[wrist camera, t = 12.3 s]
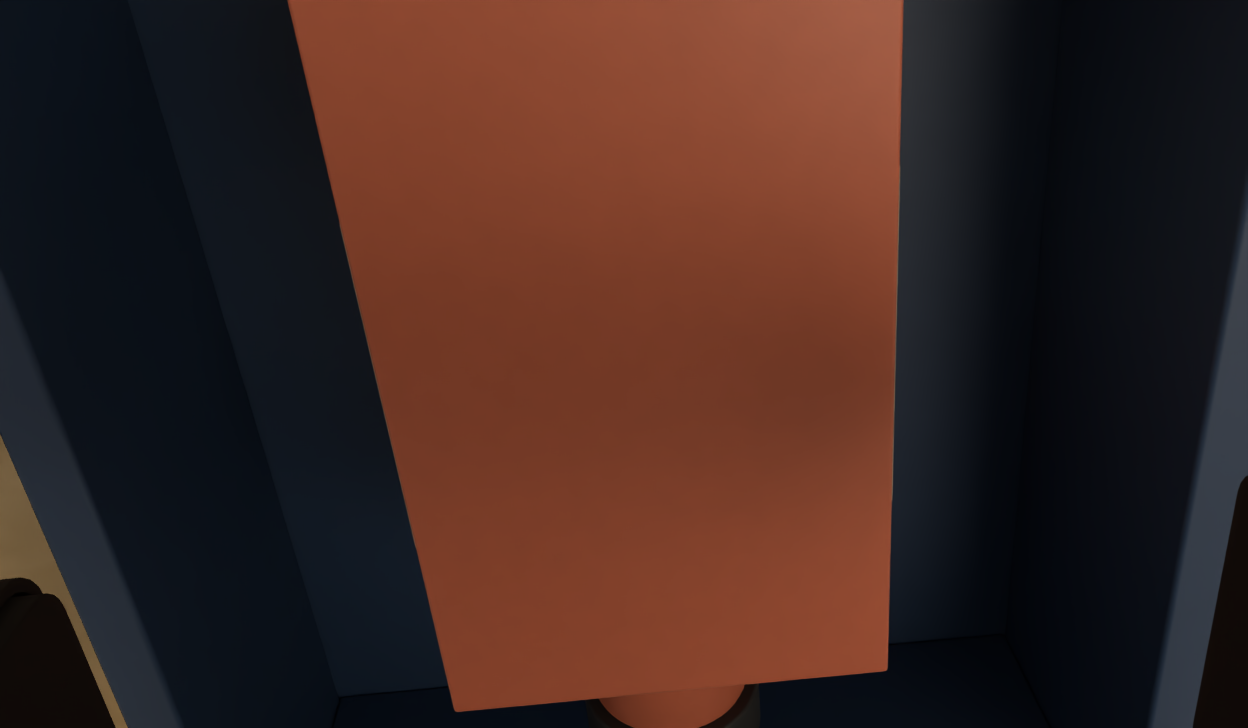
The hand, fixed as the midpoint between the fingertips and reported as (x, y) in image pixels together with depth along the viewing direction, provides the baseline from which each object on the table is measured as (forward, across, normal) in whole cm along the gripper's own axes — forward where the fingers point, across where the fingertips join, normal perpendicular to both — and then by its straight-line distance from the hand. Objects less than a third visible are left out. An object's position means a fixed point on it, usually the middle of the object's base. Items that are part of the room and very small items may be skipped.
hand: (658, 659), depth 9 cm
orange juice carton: (+10, 0, +1) cm, 10 cm away
